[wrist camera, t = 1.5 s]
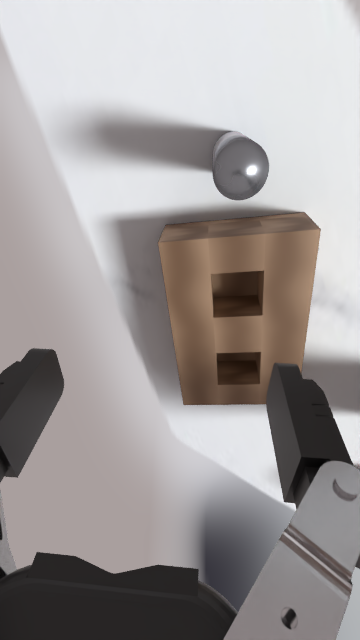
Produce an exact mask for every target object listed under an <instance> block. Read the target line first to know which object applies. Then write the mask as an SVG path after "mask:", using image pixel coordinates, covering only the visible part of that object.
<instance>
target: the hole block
mask: <svg viewBox="0 0 360 640" xmlns="http://www.w3.org/2000/svg"><path fill="white" fill-rule="evenodd" d="M320 231H321V229H320V228H319V227H318V226H317V225H316V224H315V223H314V222H313V221H312V219H311V218H310V217H309V216H308V215H307V214H306V213H305V212H304V213H293V214H282V215H271V216H260V217H249V218H238V219H227V220H215V221H204V222H193V223H182V224H171V225H165V228H164V230H163V232H162V235H161V237H160V239H159V241H158V246H159V252H160V258H161V265H162V271H163V277H164V284H165V290H166V296H167V303H168V309H169V315H170V322H171V328H172V334H173V341H174V347H175V353H176V360H177V366H178V373H179V379H180V385H181V392H182V398H183V404H184V405H231V404H266V397H267V391H268V386H269V382H270V377H271V373H272V368H273V365H274V363H289V364H297V365H298V367H299V369H300V372H301V371H302V364H303V356H304V349H305V341H306V334H307V327H308V319H309V312H310V305H311V297H312V290H313V282H314V275H315V268H316V260H317V253H318V246H319V238H320Z"/></svg>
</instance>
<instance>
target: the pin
mask: <svg viewBox="0 0 360 640" xmlns="http://www.w3.org/2000/svg"><path fill="white" fill-rule="evenodd" d="M268 172H269V162H268V158H267V155H266V153H265V151H264V150H263V148H262V147H261V146H260V145H259V144H257V143H256V142H254V141H252V140H251V139H249V138H248V137H246V136H245V135H243V134H242V133H239V132H235V131H232V132H228V133H225V134H223V135H222V136H221V137H220V138H219V139H218V140H217V142H216V144H215V146H214V149H213V179H214V183H215V185H216V187H217V189H218V190H219V192H220V193H221V194H222V195H224V196H225V197H227V198H229V199H232V200H244V199H248V198H250V197H252V196H254V195H255V194H256V193H257V192H259V191H260V189H261V188H262V187H263V185H264V184H265V182H266V179H267V177H268Z"/></svg>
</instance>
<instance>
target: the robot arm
mask: <svg viewBox="0 0 360 640" xmlns="http://www.w3.org/2000/svg"><path fill="white" fill-rule="evenodd" d="M63 388H64V379H63V376H62V372H61V368H60V365H59V362H58V358H57V355H56V352H55V351H54V350H52V349H34V348H33V349H31V350H29V351H28V353H27V354H26V355H25V357H24V358H23V359H22V361H21V362H18V361H16V362H15V363H13V364H12V365H11V366H9V367H8V368H7V369H5V370H4V371H3V372H2V373H1V374H0V482H1V480H2V479H3V477H4V476H6V477H18V476H19V474H20V472H21V470H22V468H23V467H24V465H25V463H26V461H27V459H28V457H29V455H30V453H31V452H32V450H33V448H34V446H35V444H36V442H37V440H38V438H39V437H40V435H41V433H42V431H43V429H44V427H45V425H46V423H47V422H48V420H49V418H50V416H51V414H52V412H53V410H54V408H55V407H56V405H57V403H58V401H59V399H60V397H61V395H62V392H63ZM266 406H267V413H268V418H269V424H270V429H271V434H272V440H273V445H274V451H275V456H276V461H277V467H278V472H279V477H280V483H281V488H282V493H283V499H284V502H288V503H295V504H296V509H297V510H296V512H295V514H294V516H293V518H292V519H291V521H290V523H289V525H288V527H287V528H286V529H285V530H284V532H283V533H282V535H281V537H280V538H279V540H278V542H277V544H276V545H275V547H274V549H273V551H272V553H271V555H270V556H269V558H268V560H267V562H266V563H265V565H264V567H263V569H262V571H261V572H260V574H259V576H258V578H257V580H256V582H255V583H254V585H253V587H252V589H251V591H250V592H249V594H248V596H247V598H246V600H245V601H244V604H243V605H242V607H241V609H240V610H239V612H237V611H236V610H235V608H234V607H233V606H232V605H231V604H230V603H229V602H228V601H227V599H225V598H224V597H223V596H222V595H221V594H220V593H219V592H217V591H216V590H215V589H213V588H212V587H210V586H209V585H207V584H205V583H203V582H201V581H199V580H198V569H193V568H183V567H173V566H164V565H155V566H150V567H145V568H141V569H136V570H132V571H127V572H122V573H117V574H113V573H109V572H107V571H105V570H103V569H101V568H99V567H97V566H95V565H93V564H91V563H89V562H86V561H84V560H82V559H80V558H78V557H76V556H68V555H59V554H50V553H40V552H37V553H36V556H35V558H34V561H33V564H32V565H29V566H26V567H24V568H21V569H18V570H17V569H16V565H15V562H14V559H13V556H12V554H11V551H10V548H9V544H8V538H7V531H6V524H5V518H4V512H3V504H2V497H1V491H0V640H336V637H337V634H338V631H339V628H340V625H341V622H342V619H343V616H344V614H345V611H346V607H347V605H348V601H349V599H350V595H351V591H352V582H351V578H352V574H353V570H354V568H355V567H357V568H359V569H360V470H359V469H357V468H356V467H354V465H353V463H352V461H351V459H350V456H349V454H348V451H347V449H346V446H345V444H344V441H343V439H342V437H341V434H340V432H339V429H338V427H337V424H336V422H335V419H334V418H333V414H332V412H331V409H330V407H329V404H328V402H327V399H326V397H325V394H324V392H323V391H322V389H321V388H320V387H319V386H318V385H317V384H316V383H315V382H314V381H313V380H307V379H303V378H302V375H301V372H300V369H299V367H298V365H297V364H289V363H274V365H273V368H272V373H271V377H270V382H269V386H268V391H267V397H266Z"/></svg>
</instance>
